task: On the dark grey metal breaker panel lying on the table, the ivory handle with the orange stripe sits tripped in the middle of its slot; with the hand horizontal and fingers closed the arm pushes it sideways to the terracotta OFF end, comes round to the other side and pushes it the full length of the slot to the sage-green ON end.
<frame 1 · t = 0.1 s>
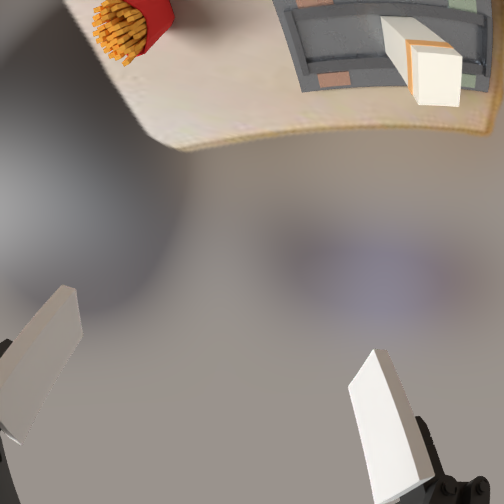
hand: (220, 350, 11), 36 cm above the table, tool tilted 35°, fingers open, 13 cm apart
french fries: (158, 8, 25), on the table
breaker panel: (388, 4, 21), on the table
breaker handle: (416, 52, 19), point 10 cm above the table, slide at 0.0 cm
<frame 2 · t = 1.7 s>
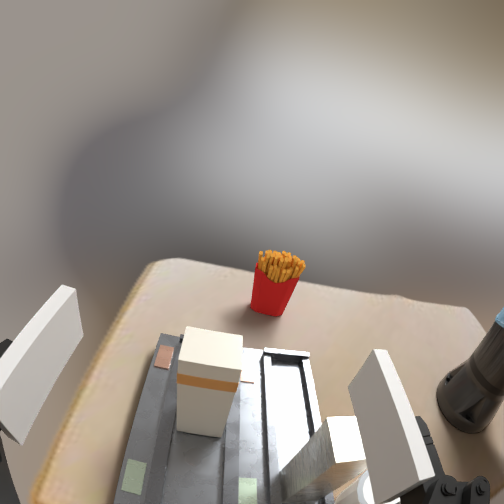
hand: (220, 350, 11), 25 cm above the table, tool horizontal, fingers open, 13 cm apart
french fries: (267, 309, 56), on the table
breaker panel: (227, 435, 30), on the table
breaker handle: (205, 390, 26), point 10 cm above the table, slide at 0.0 cm
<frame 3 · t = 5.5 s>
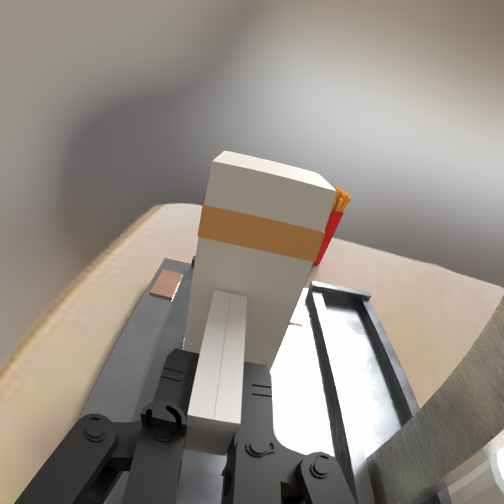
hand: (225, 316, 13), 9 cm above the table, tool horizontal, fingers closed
french fries: (301, 257, 45), on the table
breaker panel: (262, 407, 19), on the table
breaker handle: (243, 287, 15), point 10 cm above the table, slide at -0.8 cm, touching gripper
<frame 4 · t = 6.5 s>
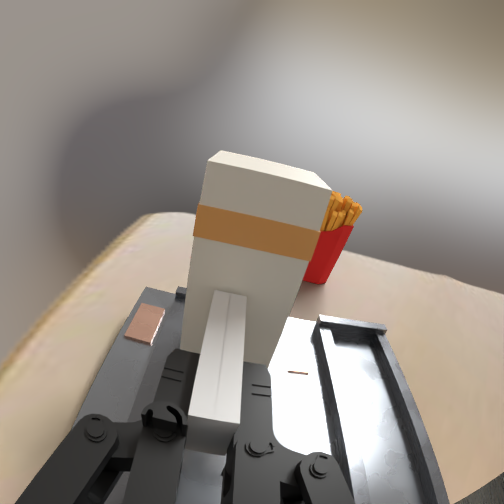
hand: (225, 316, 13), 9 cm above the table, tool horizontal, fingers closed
french fries: (304, 275, 40), on the table
breaker panel: (258, 473, 14), on the table
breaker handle: (239, 287, 15), point 10 cm above the table, slide at -6.4 cm, touching gripper
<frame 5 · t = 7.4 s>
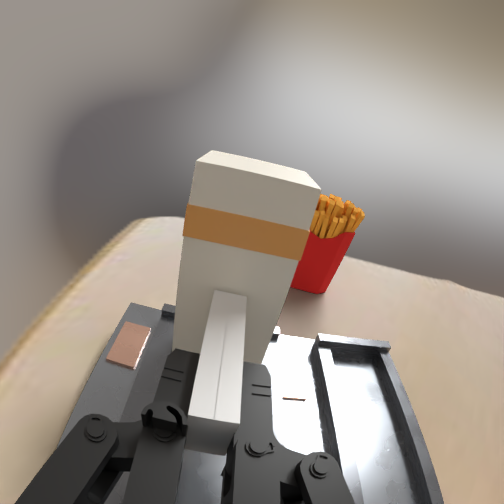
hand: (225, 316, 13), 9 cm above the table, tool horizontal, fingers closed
french fries: (303, 284, 38), on the table
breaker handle: (230, 286, 15), point 10 cm above the table, slide at -8.8 cm, touching gripper
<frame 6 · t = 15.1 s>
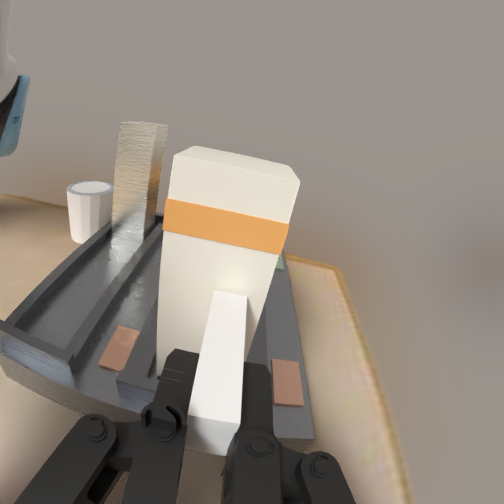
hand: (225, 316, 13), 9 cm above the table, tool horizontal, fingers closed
white short cylinder: (90, 236, 35), on the table
breaker panel: (174, 310, 27), on the table
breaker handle: (214, 282, 15), point 10 cm above the table, slide at -8.5 cm, touching gripper
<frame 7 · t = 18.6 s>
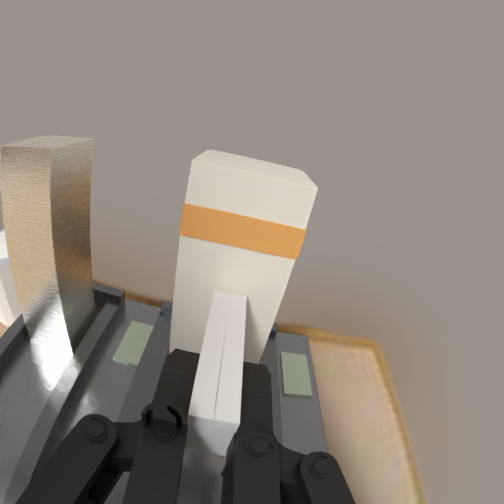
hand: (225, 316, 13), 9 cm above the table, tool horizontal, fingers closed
white short cylinder: (20, 309, 20), on the table
breaker panel: (132, 480, 12), on the table
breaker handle: (227, 285, 15), point 10 cm above the table, slide at 8.6 cm, touching gripper
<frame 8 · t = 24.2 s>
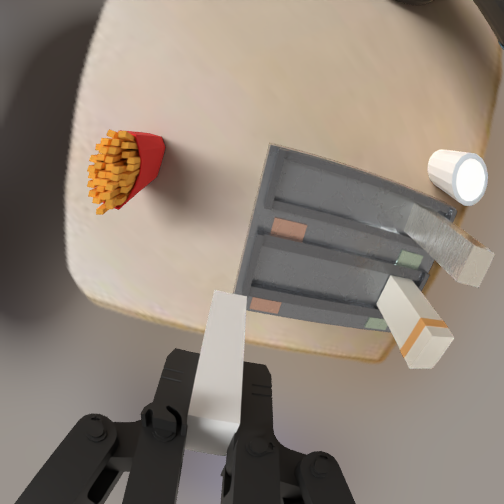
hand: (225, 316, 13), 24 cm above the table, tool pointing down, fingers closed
white short cylinder: (441, 168, 33), on the table
french fries: (149, 156, 34), on the table
breaker panel: (344, 248, 39), on the table
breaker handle: (411, 319, 32), point 10 cm above the table, slide at 8.8 cm
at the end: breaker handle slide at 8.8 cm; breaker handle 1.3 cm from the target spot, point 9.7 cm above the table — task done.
